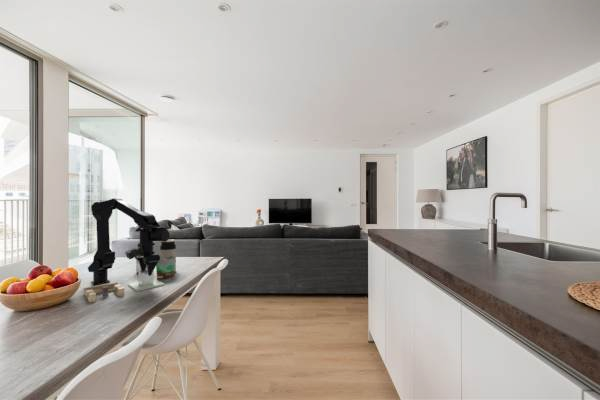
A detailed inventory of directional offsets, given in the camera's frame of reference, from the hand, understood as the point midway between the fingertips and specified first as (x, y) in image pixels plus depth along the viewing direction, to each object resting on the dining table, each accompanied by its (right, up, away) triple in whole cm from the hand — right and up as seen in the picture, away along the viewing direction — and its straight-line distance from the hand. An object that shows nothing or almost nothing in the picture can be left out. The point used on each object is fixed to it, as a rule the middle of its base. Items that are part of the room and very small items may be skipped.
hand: (146, 273), depth 132 cm
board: (0, -6, 0) cm, 6 cm away
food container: (+4, -6, +14) cm, 16 cm away
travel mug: (-1, -6, +25) cm, 26 cm away
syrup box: (-16, -6, +26) cm, 31 cm away
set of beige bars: (-11, -6, -13) cm, 18 cm away
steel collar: (0, -5, 0) cm, 5 cm away
